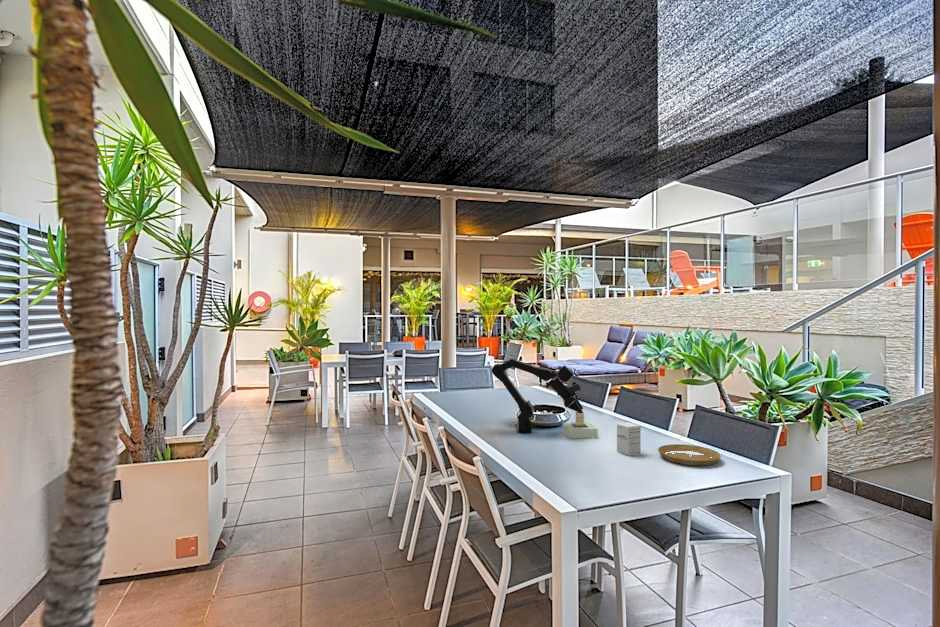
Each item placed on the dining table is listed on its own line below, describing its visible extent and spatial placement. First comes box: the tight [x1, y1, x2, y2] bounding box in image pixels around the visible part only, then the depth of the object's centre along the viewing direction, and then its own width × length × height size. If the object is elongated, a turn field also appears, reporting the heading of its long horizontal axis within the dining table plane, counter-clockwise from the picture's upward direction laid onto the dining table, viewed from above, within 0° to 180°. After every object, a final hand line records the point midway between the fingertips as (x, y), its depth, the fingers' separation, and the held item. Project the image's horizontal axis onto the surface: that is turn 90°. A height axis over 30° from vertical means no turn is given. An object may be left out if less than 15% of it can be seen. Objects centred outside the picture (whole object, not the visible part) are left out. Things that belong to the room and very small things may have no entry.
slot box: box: [562, 421, 599, 439], centre depth 246 cm, size 14×14×4 cm
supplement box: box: [616, 421, 642, 457], centre depth 215 cm, size 7×7×13 cm
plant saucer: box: [657, 443, 722, 466], centre depth 206 cm, size 24×24×3 cm
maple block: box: [575, 411, 585, 428], centre depth 246 cm, size 4×4×11 cm
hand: (582, 410), depth 246 cm, fingers open, 9 cm apart
